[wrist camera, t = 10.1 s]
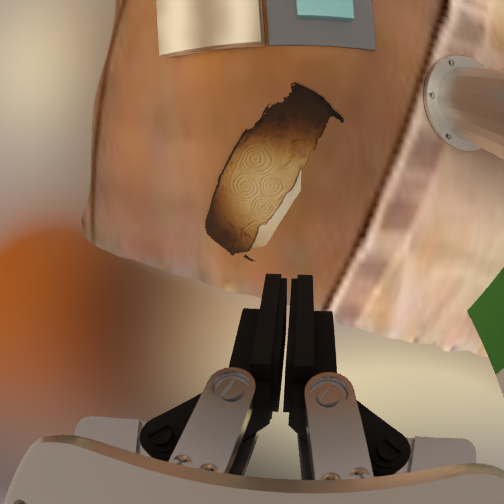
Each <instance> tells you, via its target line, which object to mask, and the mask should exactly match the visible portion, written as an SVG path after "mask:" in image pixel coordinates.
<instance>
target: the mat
mask: <svg viewBox="0 0 504 504" xmlns="http://www.w3.org/2000/svg"><path fill="white" fill-rule="evenodd" d="M266 8H267V21H268V36H269V46H286V45H304V46H331V47H346V48H357V49H366V50H374V51H375V33H374V20H373V9H372V0H353V9H354V19H353V20H352V21H351V22H348V21H337V20H322V19H297V5H296V0H266Z"/></svg>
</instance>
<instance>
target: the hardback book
mask: <svg viewBox="0 0 504 504" xmlns="http://www.w3.org/2000/svg"><path fill="white" fill-rule="evenodd" d="M468 313H469V315H470V317H471V319H472V321H473V323H474V326H475V328H476V330H477V332H478V334H479V336H480V338H481V341H482V343H483V345H484V347H485V350H486V352H487V354H488V357H489V359H490V361H491V364H492V366H493V369H494V371H495V374H496V377H497V379H498V382H499V385H500V387H501V390H502V393H503V396H504V268H503V269H502V270H501V272H500V273H499V274H498V275H497V277H496V278H495V279H494V280H493V282H492V283H491V284H490V285H489V287H488V288H487V289H486V290H485V291H484V292H483V294H482V295H481V296H480V297H479V298H478V299H477V301H476V302H475V303H474V304H473V305H472V306H471V307H470V308H469V309H468Z"/></svg>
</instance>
